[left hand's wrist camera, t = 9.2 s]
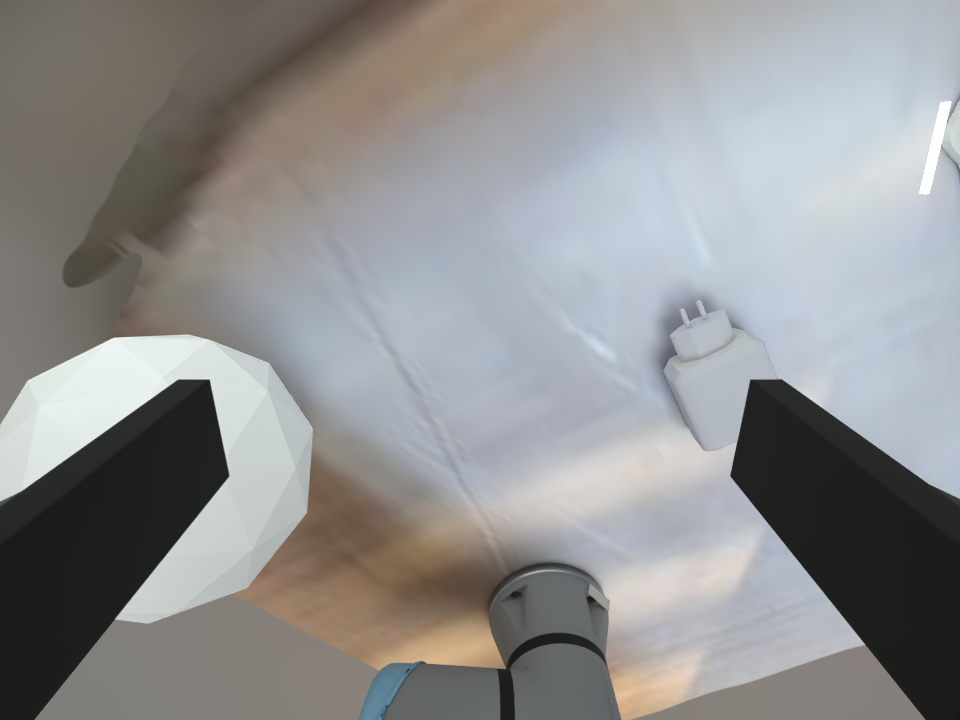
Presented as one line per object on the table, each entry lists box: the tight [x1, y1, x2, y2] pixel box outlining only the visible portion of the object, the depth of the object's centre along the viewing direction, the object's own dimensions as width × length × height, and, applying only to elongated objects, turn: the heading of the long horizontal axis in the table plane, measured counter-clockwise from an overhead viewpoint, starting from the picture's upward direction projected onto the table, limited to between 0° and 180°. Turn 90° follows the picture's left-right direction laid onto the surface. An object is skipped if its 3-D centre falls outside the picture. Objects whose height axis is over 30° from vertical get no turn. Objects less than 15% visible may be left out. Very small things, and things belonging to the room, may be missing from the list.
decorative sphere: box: [0, 335, 313, 623], centre depth 45 cm, size 24×25×25 cm
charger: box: [663, 300, 777, 451], centre depth 52 cm, size 5×9×15 cm
